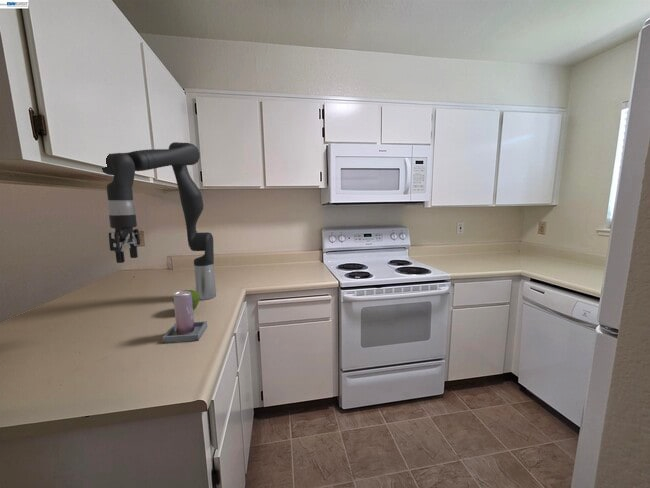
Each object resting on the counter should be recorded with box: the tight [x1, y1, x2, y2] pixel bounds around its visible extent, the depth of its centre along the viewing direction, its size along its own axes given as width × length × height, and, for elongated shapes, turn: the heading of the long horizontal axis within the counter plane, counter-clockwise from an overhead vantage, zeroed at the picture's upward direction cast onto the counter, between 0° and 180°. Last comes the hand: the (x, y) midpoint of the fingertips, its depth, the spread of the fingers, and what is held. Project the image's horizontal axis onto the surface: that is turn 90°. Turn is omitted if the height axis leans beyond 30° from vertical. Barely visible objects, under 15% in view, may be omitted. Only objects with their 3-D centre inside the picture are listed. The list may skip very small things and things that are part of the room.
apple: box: [172, 289, 200, 311], centre depth 124 cm, size 11×10×10 cm
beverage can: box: [172, 290, 195, 335], centre depth 102 cm, size 6×6×15 cm
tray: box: [161, 320, 208, 344], centre depth 103 cm, size 12×12×2 cm
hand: (127, 260), depth 98 cm, fingers open, 8 cm apart
